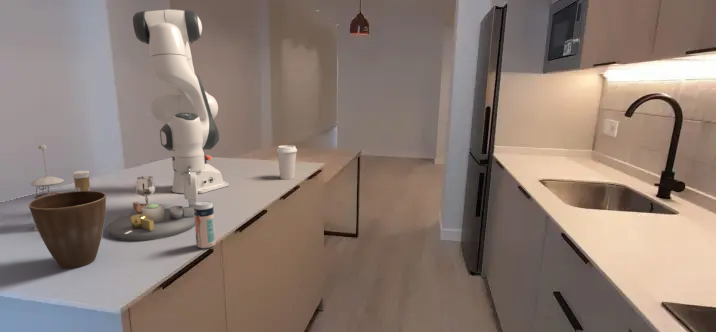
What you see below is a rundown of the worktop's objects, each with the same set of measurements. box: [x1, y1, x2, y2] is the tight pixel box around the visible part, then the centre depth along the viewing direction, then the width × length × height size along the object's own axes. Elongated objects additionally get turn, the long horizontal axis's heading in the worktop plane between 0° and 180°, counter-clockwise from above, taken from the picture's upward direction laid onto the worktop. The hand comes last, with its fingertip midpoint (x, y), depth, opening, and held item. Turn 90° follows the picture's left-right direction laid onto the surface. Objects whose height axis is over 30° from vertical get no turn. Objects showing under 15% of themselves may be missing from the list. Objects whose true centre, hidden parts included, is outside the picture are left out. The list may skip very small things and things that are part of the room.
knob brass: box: [131, 214, 154, 230], centre depth 117 cm, size 8×4×3 cm, turn 57°
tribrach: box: [107, 202, 195, 242], centre depth 125 cm, size 24×24×7 cm
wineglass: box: [135, 175, 156, 204], centre depth 138 cm, size 6×6×12 cm
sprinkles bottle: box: [72, 170, 92, 192], centre depth 139 cm, size 5×5×13 cm
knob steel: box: [168, 205, 194, 219], centre depth 127 cm, size 8×4×3 cm, turn 110°
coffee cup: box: [276, 144, 298, 181], centre depth 190 cm, size 10×10×15 cm
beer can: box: [194, 200, 216, 250], centre depth 109 cm, size 5×5×12 cm
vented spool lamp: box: [30, 144, 65, 232], centre depth 123 cm, size 10×12×25 cm
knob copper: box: [132, 201, 149, 214], centre depth 130 cm, size 8×4×3 cm, turn 50°
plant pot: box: [28, 190, 107, 269], centre depth 98 cm, size 15×15×16 cm
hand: (192, 205), depth 134 cm, fingers open, 8 cm apart
